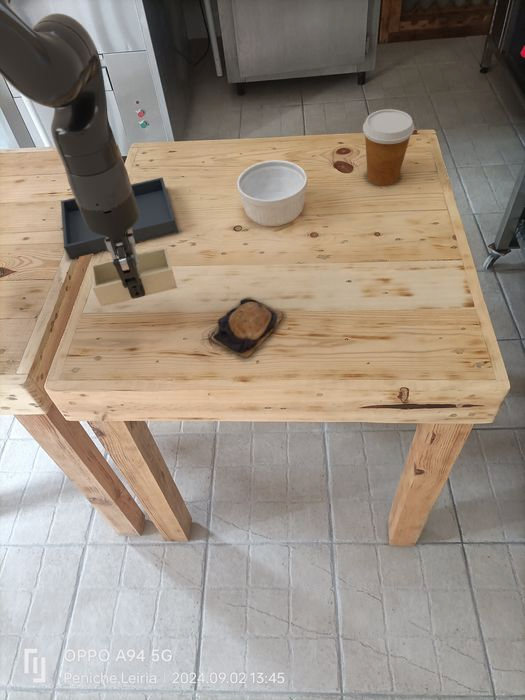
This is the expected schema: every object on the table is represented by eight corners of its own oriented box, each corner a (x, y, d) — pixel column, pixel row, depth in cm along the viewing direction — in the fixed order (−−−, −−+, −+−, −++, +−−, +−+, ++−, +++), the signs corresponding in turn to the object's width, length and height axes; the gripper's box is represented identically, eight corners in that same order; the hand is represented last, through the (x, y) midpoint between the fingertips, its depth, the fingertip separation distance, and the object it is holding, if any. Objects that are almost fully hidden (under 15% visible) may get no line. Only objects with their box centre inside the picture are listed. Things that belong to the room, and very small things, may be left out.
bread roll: (246, 298, 91) (244, 282, 88) (287, 317, 87) (285, 302, 84) (206, 338, 86) (202, 323, 83) (247, 361, 82) (245, 345, 79)
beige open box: (101, 307, 82) (92, 288, 79) (98, 283, 85) (89, 264, 82) (177, 288, 83) (172, 269, 80) (171, 265, 86) (166, 246, 83)
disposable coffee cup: (368, 194, 106) (372, 138, 96) (353, 168, 112) (356, 113, 102) (413, 185, 106) (423, 128, 97) (397, 160, 112) (404, 104, 103)
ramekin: (240, 233, 101) (236, 203, 96) (241, 192, 110) (237, 162, 104) (309, 228, 101) (309, 197, 95) (305, 187, 109) (304, 156, 104)
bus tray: (69, 259, 101) (63, 247, 99) (66, 213, 110) (60, 200, 108) (178, 232, 103) (175, 219, 101) (165, 189, 113) (162, 177, 110)
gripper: (71, 168, 74) (108, 259, 88) (78, 230, 66) (117, 321, 79) (124, 156, 75) (152, 248, 88) (138, 216, 66) (167, 308, 80)
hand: (136, 282), depth 84 cm, fingers closed on beige open box, 5 cm apart
